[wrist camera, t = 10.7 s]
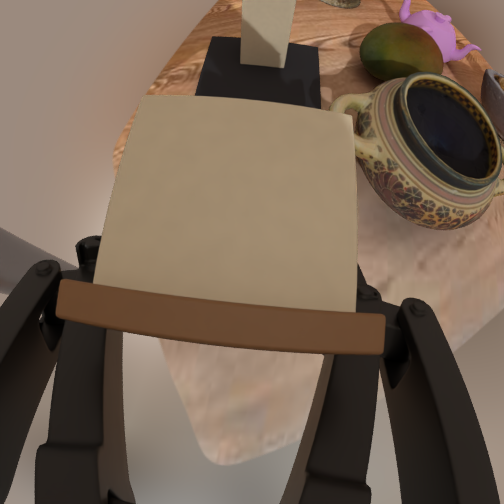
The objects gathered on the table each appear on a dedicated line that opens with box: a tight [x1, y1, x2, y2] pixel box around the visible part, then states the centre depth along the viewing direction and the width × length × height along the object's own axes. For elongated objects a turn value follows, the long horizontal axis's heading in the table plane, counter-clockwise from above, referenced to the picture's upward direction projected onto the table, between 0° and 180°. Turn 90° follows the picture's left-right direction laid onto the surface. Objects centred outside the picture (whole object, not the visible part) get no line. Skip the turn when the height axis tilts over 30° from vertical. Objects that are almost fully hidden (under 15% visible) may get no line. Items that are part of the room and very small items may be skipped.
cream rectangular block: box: [56, 95, 386, 355], centre depth 13 cm, size 6×6×13 cm
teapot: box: [399, 0, 481, 63], centre depth 40 cm, size 12×14×9 cm
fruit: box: [360, 23, 444, 81], centre depth 36 cm, size 12×13×10 cm
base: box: [195, 0, 321, 109], centre depth 32 cm, size 16×20×14 cm
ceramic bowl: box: [329, 72, 504, 230], centre depth 30 cm, size 24×18×15 cm
